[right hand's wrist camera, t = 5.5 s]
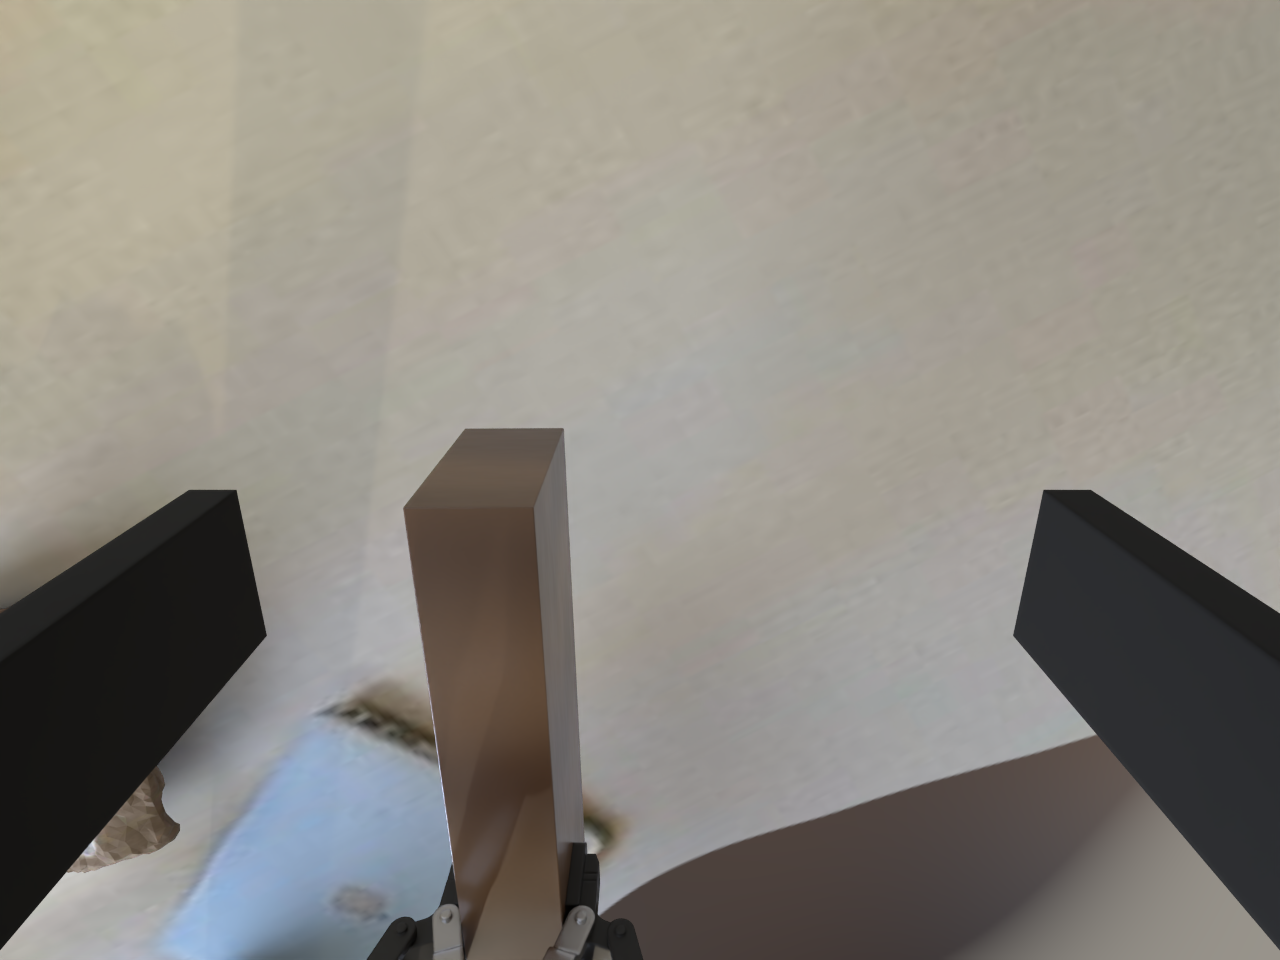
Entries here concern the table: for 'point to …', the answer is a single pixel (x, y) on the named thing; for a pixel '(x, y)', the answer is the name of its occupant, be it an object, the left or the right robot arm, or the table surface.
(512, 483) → the bar
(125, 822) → the stone
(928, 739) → the table surface
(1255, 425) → the table surface
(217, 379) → the table surface
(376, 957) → the left robot arm
